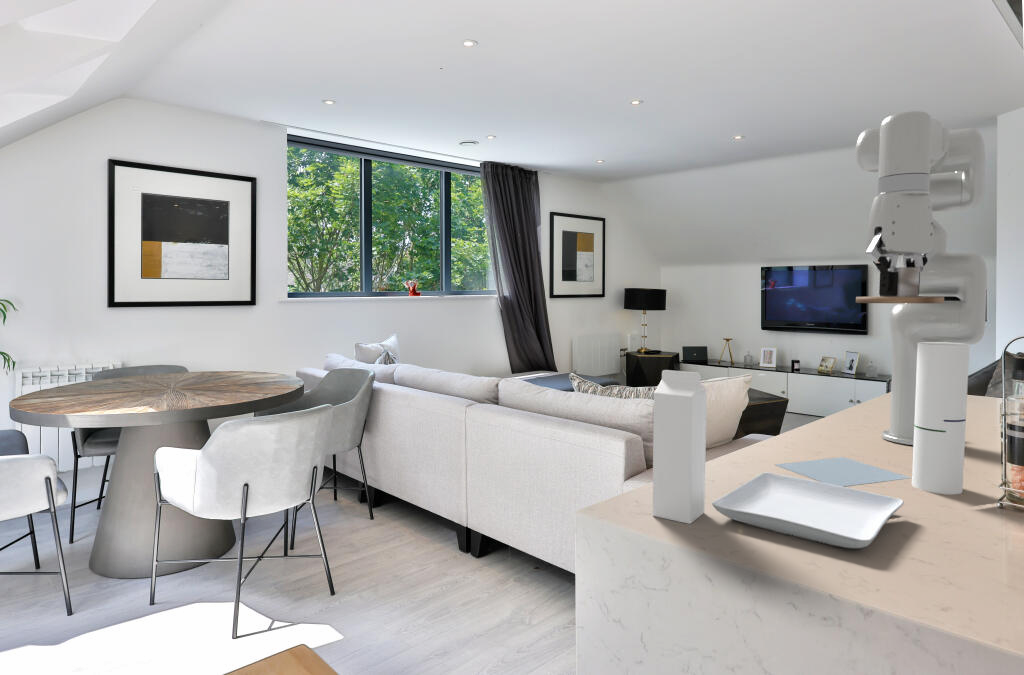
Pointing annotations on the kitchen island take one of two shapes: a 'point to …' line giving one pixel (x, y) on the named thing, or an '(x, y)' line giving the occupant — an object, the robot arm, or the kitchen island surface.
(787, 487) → the salad plate
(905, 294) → the lid
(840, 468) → the mat
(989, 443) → the kitchen island surface
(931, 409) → the cylindrical container
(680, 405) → the milk
